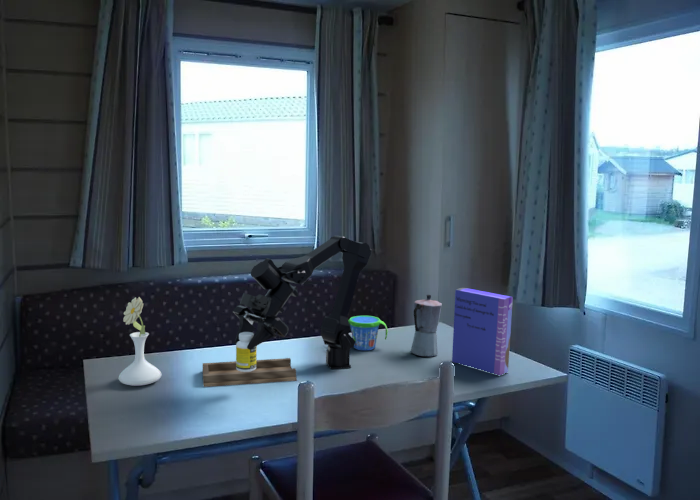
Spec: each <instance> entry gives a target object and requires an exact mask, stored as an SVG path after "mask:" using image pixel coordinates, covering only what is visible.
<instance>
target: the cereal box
mask: <svg viewBox="0 0 700 500" xmlns="http://www.w3.org/2000/svg"><path fill="white" fill-rule="evenodd" d="M453 311H454V317H453V333H452V335H453V336H452V355H451V363H453V362H454V363H453V364H456V363H460V364H463V365H467V366H471V367H474V368H477V369H481V370H484V371H487V372H490V373H494V374H497V375H502V374H504V373H507V372H508V373H509V361H510V345H511V333H512V332H511V329H512V317H513V315H512V312H513V296H509V295H503V294H499V293H493V292H489V291H484V290H483V291H482V290H478V289H472V288H467V287H459V288H457V289H455V293H454V310H453ZM463 365H462V366H463ZM508 373H507V374H508ZM502 376H503V375H502Z"/></svg>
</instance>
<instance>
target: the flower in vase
mask: <svg viewBox="0 0 700 500" xmlns="http://www.w3.org/2000/svg"><path fill="white" fill-rule="evenodd" d="M143 307H144V303H143V300H142V298H141V297H140V296H138V298H137V297H134V298H133V299H131V302H128V303H127V306H126V307H125V308H126V309H125V311H124V312H123V315H124V316H123V320H122V321H123V322H124V323H125V325H126V326H127V325H128V326H129V325H130V324H132V326H133V327H134V328H135V329H136V330H139V331H136V332H132V333H130V334H129V337H130V338H131V340H132V342H133V344H134V350H135V354H134V355H135V358H134V360H133V362H132V363H130V364H129V365H128V366H126V368H124V369H123V370H122V371H121V373H119V376H118V380H119V382H120V383H121V384H123V385H128V386H133V387H134V386H135V387H136V386H137V387H138V386H145V385H150V384H153V383H155V382H158V381H159V380H160V378H162V372H161V370H160V369H158V368H157V367H156V365H153V364H151V363H150V362H149V361H147V360H146V357H145V353H144V352H145V343H146V340H147V338H148V336H149V335H150V333H149V332H146V330H145V328H146V325H144V322H143V320H142V317H141V313H142V310H143ZM138 318H139V320H140V323H141V324H140V323H138V321H137V320H138Z"/></svg>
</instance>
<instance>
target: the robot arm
mask: <svg viewBox="0 0 700 500" xmlns="http://www.w3.org/2000/svg"><path fill="white" fill-rule="evenodd" d="M338 253H341V254H342V256H341V260H342V262H343V263H342V265H343V271H342V275H341V277H340V282H339V286H338V290H337V293H336V297H335V300H334V305H333V308H332V311H331V313H329V315H328V316H325V315H324V316H323V317H322V321H321V325H320V327H319V329H320V336H321V338H322V340H323V343H324V345H326V346H327V350H325V353H326V354H325V363H326V365H327V366H328V368H329V369H330V370H337V369H351V368H352V366H351V364H350V360H351V359H350V355H351V354H350V353H351V349H353V348H354V344H355V340H354V339H353V338H352V335H350V334H349V333H350V329H351V328H350V324H349V321H348V320H349V313H350V308H351V305H352V301H353V297H354V294H355V290H356V287H357V283H358V279H359V275H360V273H361V271H362V270H363V269H364V268H365V267H366V266H367V265H368V263H369V260H370V257H371V254H372V249H371V247H370V245H369V244H368V243H367V242H360V241H354V240H351V239H349V238H348V237H345V236H341V235H333V236H331V237H330V238H329V239H328V240H326V241H325V242H323V243H322V244H320V245H319V246H317V247H316V248H315V249H313V250H311V251H310V252H308V253H306V254H305V255H303V256H300V257H296V258H292V259H290V260H288V261H287V260H286V261H285V262H284V263H282V265H280V266H277V265H276V264H275V263H274V261H273V260H272V258H265V259H264V260H263V261H260V262H258V263H257V264H256V265H253V267H252V268H251V271H250V277H252V279H254V280H255V282H257V283H258V284H259V285H260V287H262V289H264V290H265V291H266V290H267V293H266V294H265V295H264V294H263V295H262V294H261V293H260V294H259V293H258V295H257V296H254V295H252V294H248V293H245V292H243V294H242V296H241V299H240V303H239V305H236V306H235V307H234V309H232V313H233V314H234V315H235V316H236V317H237V318H238V319H239V320H238V321H239V327H238V330H237V334H236V336H235V337H236V338H235V340H234V344H235V345H236V344H237V342H238V341H240V340H239V333H242V332H252V333H254V331H255V330H256V331H255V333H254V336H253V337H252V339H251V341H250V342H249V344H248V346H247V348H248V349H249V350H251V349H252V348H254V347H256V346H257V347H258V346H259V345H261V344H263V343H265V342H266V341H268V340H270V339H272V338H276V337H277V336H279V337H283V338H285V337H286V336H287V334H288V333H289V325H287V324H286V323H285V322H284V320H282V319H281V318H280V317H279V316H278V314H279V313H281V314H282V313H284V311H285V309H284V308H283V307H284V305H285V304H286V303H287V301H289V298H290V297H291V296H292V297H295V298H296V297H298V296H299V293H298V287H297V286H295V285H292V284H293V283H294V284H297V285H303V284H304V283H305V282H306V281H307V280H308V279H309V278H311V277H312V276H313V273H314V271H315V269H316V268H318V267H319V266H321V265H322V264H324V263H326V262H327V261H328V260H330V259H331V258H332V257H334V256H335V255H337V254H338ZM291 283H292V284H291ZM255 323H257V327H255V326H254V325H255ZM354 349H355V348H354Z"/></svg>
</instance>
